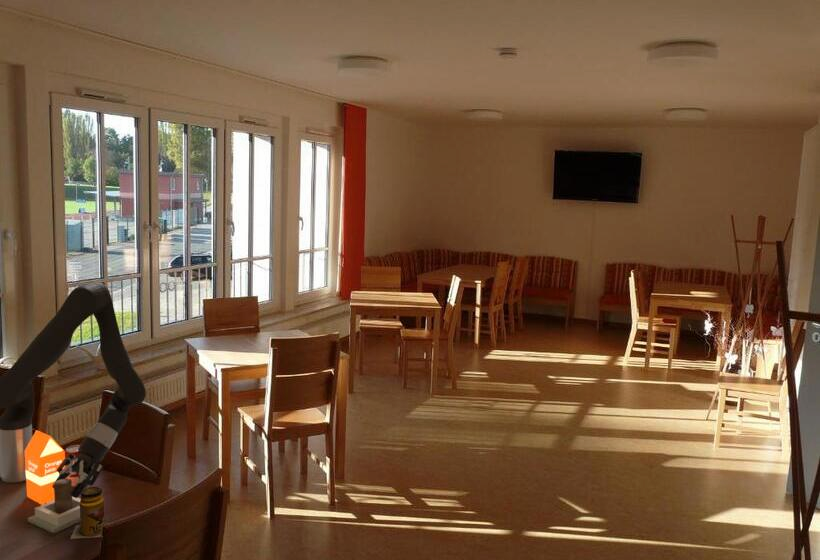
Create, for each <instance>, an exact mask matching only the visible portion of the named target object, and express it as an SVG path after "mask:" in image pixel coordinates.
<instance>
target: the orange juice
mask: <svg viewBox="0 0 820 560" xmlns="http://www.w3.org/2000/svg"><path fill="white" fill-rule="evenodd" d="M24 452H25V467H26V480H25V482H26V496H27V498H29V499H31V500H32V501H34V502H36V503H37V502H38V503H37V504H40V506H41V505H43V504H45V503H48V502H51V501H53V500H55V498H54V488H52V486H53V484H54V482H55V481H56V479H57V478H58V476H59V472H58V471H57V469H58V467H59V466H60V465H61V463H62V462H63V461H64V459H65V452H66V449H65V450H64V449H63V447H61V446H60V444H58V443H57V442H56V440H55V439H54V438H53V437H52V436H51V435H49V434H46V433H44V432H42V431H41V430H40V431H39V430H37V429H36V430H35V432H34V434H32V439H31V440H30V442H29V444H28V446H27V447H26V449H25V451H24ZM64 468H65V466H64V467H63V468H62V469H64Z"/></svg>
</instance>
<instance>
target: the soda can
mask: <svg viewBox="0 0 820 560" xmlns="http://www.w3.org/2000/svg"><path fill="white" fill-rule="evenodd" d="M80 445H81V444H73V445H70V446H67V447H66V448H65V458H66V456H67V455H68V454H69V453H71V454H73V455H74V456H76V455H77V454H78V453H79V451H78V448H79V446H80ZM65 467H66V465H65ZM71 468H72V467H71ZM66 473H68V472H66ZM66 479H70V480H71V481H72V489H74V488H75V486H76V485H77V483H79V480H80V476H79V474H77V473H76V474H74V475H70V476H69V477H67V478H66Z"/></svg>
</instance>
